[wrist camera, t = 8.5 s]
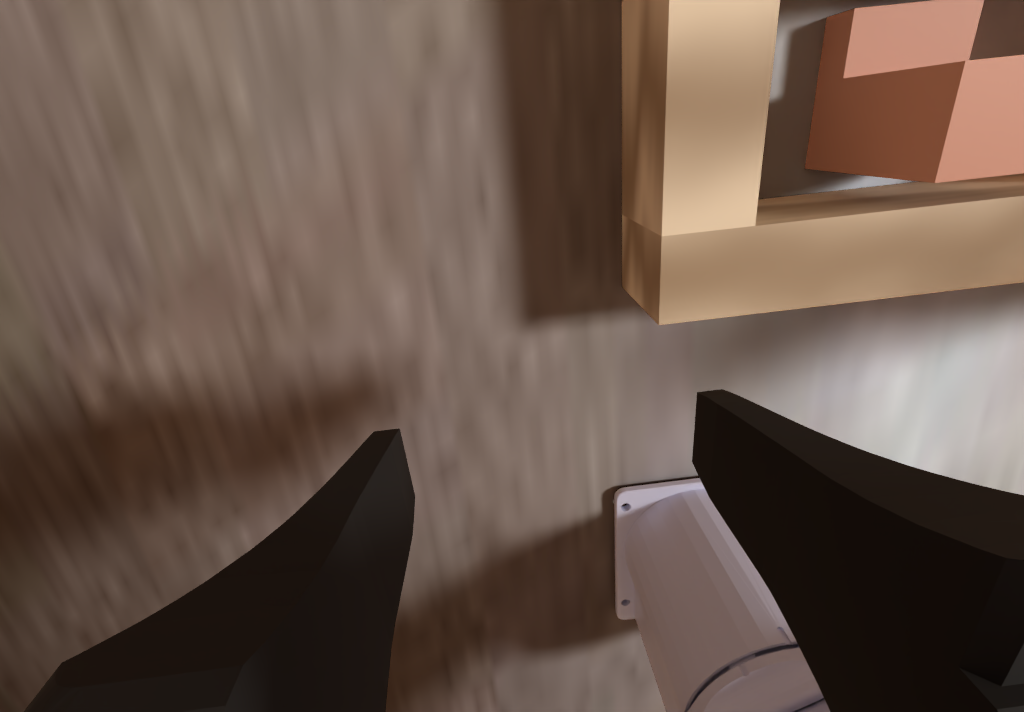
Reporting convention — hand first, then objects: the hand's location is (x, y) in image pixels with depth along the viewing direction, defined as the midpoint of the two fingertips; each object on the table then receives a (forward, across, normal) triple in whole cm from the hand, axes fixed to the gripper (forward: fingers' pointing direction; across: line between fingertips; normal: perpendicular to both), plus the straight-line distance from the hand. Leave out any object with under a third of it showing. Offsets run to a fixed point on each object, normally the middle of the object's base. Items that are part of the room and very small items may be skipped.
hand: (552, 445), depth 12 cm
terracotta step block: (+10, -14, -6) cm, 18 cm away
